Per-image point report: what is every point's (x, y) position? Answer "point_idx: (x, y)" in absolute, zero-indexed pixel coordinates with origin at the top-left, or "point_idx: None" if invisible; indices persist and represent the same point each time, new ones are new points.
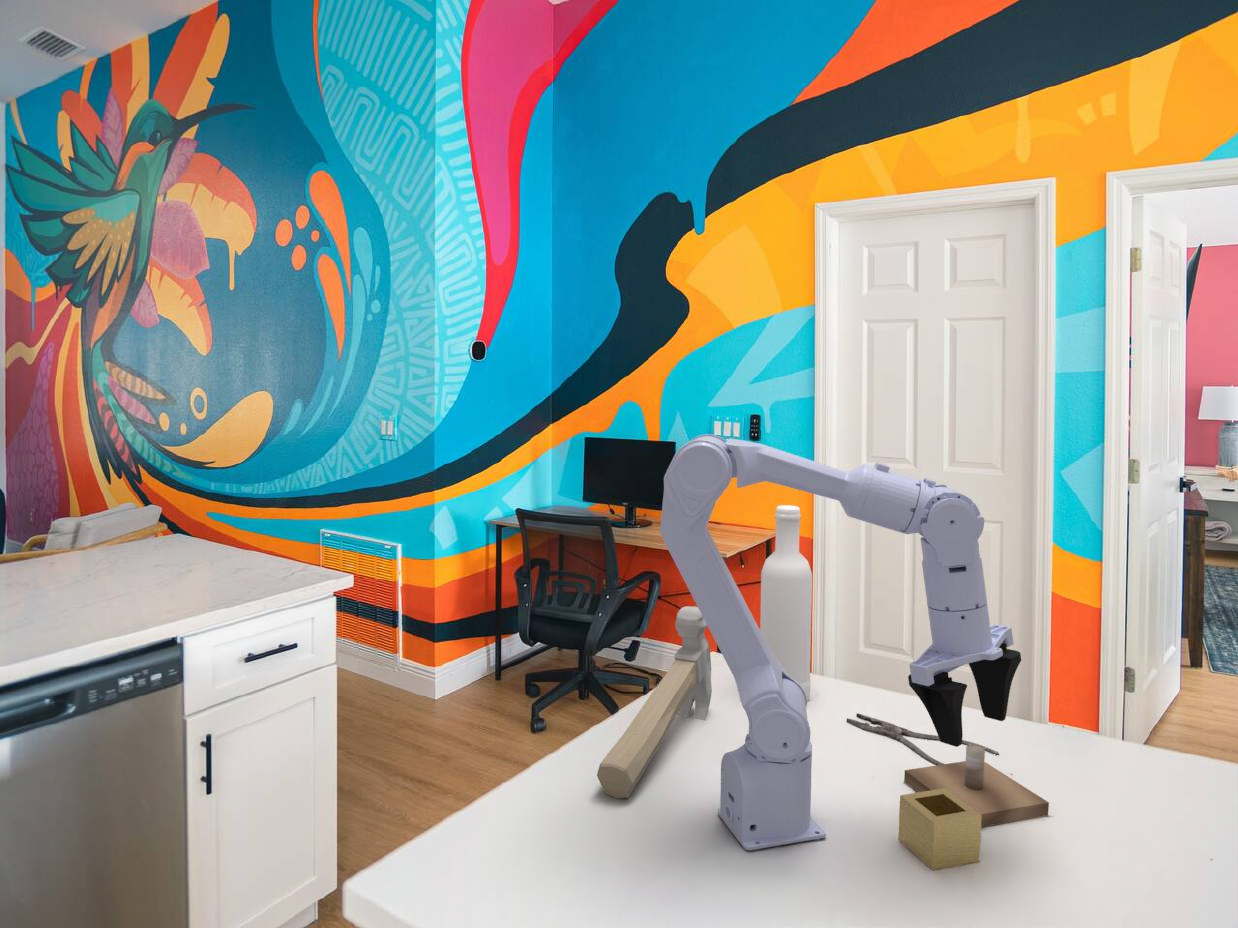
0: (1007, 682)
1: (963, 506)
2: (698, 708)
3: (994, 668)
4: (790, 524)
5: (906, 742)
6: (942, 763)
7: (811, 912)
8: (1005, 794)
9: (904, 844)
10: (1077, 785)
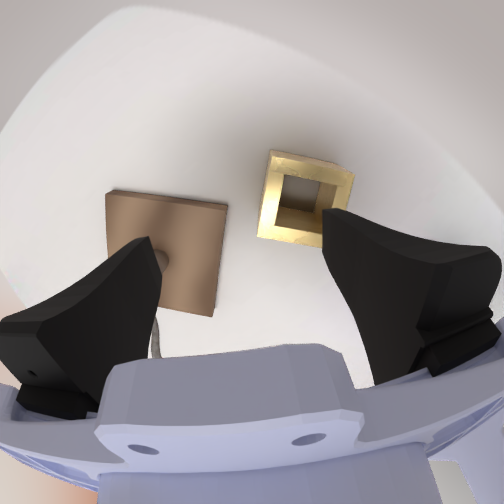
0: (89, 285)
1: None
2: None
3: (101, 349)
4: None
5: (157, 353)
6: None
7: (468, 183)
8: (138, 228)
9: None
10: (52, 223)
